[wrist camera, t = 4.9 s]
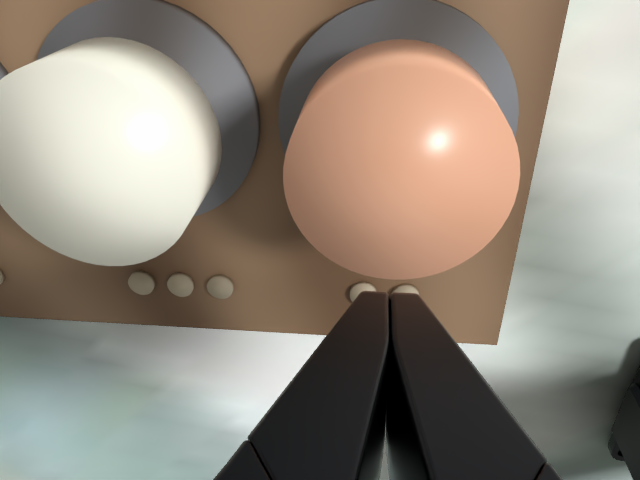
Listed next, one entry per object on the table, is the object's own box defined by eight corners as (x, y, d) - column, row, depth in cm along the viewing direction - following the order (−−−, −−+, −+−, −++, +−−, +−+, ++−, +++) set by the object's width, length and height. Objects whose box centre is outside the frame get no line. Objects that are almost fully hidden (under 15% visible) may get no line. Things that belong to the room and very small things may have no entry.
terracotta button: (515, 40, 12) (542, 66, 10) (483, 232, 15) (499, 284, 13) (294, 38, 13) (276, 63, 11) (300, 225, 15) (287, 274, 13)
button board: (569, -93, 13) (596, -93, 12) (489, 317, 20) (499, 355, 18) (-235, -82, 15) (-312, -80, 14) (-62, 287, 22) (-98, 319, 20)
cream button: (209, 37, 13) (176, 62, 11) (230, 222, 15) (207, 270, 13) (9, 36, 13) (-59, 59, 11) (62, 215, 16) (15, 261, 14)
